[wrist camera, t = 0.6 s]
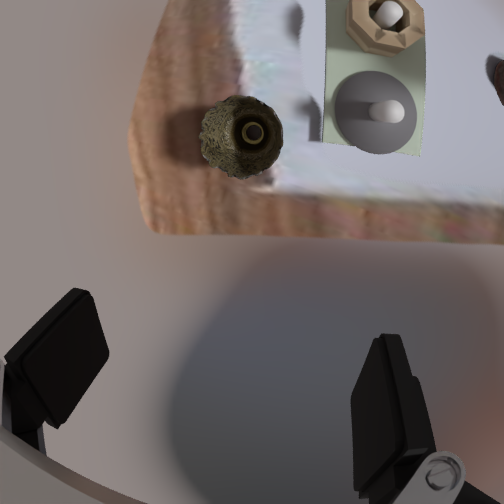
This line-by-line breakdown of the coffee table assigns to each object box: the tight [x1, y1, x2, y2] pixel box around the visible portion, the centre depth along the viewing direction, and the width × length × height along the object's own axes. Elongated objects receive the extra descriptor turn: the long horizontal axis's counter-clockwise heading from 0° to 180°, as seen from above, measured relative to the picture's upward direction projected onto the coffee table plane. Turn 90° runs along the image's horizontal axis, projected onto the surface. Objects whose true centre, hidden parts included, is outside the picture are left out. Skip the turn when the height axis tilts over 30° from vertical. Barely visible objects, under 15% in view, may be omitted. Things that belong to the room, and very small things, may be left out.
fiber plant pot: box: [198, 95, 283, 179], centre depth 28 cm, size 8×7×8 cm
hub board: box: [322, 0, 426, 157], centre depth 23 cm, size 18×11×8 cm, turn 178°
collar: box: [346, 0, 425, 58], centre depth 21 cm, size 7×7×5 cm
